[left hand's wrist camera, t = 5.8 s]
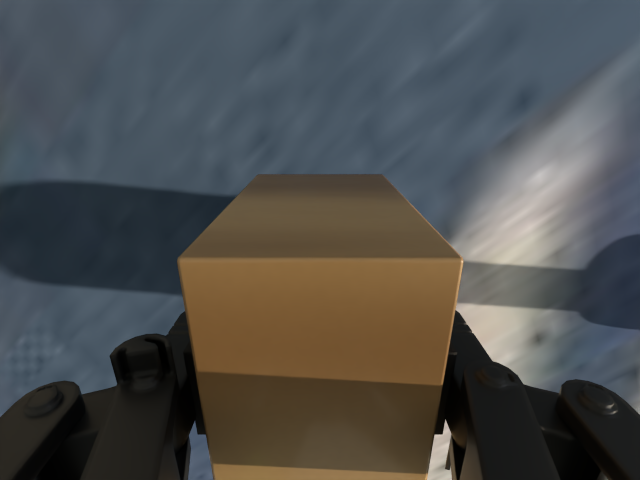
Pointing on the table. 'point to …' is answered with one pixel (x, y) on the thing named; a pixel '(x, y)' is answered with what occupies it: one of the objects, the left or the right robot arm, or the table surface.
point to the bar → (320, 330)
